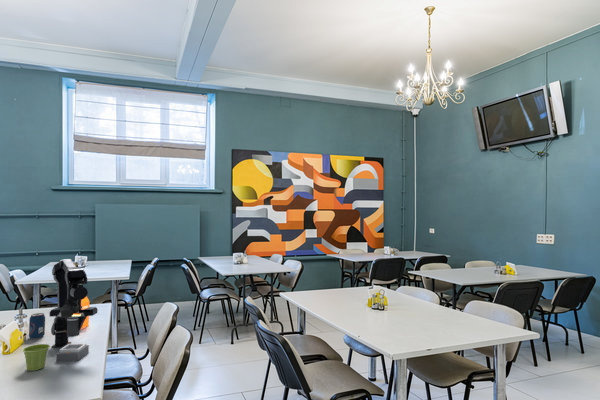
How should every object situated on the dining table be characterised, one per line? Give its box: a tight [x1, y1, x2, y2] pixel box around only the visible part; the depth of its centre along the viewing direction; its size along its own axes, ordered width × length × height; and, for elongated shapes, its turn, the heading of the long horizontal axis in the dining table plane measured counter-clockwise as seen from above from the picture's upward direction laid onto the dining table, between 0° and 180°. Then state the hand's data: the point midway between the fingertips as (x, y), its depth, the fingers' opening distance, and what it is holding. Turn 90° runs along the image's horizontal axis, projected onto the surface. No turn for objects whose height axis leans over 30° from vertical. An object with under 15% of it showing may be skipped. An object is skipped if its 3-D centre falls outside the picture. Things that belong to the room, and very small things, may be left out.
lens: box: [67, 316, 80, 338], centre depth 177 cm, size 5×5×8 cm
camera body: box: [55, 343, 90, 363], centre depth 177 cm, size 11×9×5 cm
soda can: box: [28, 312, 46, 340], centre depth 204 cm, size 7×7×12 cm
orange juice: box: [72, 295, 90, 330], centre depth 223 cm, size 8×9×20 cm
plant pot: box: [22, 343, 50, 372], centre depth 164 cm, size 9×9×9 cm
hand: (73, 330), depth 177 cm, fingers closed on lens, 5 cm apart
